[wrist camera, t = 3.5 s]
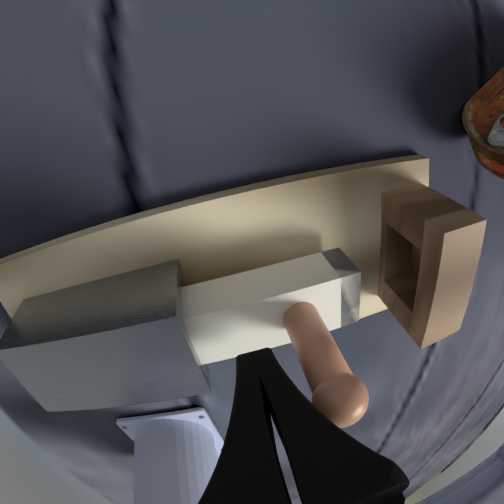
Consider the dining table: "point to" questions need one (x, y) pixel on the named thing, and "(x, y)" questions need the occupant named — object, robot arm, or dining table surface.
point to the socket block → (427, 260)
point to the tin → (487, 124)
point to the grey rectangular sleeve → (106, 343)
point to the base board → (229, 232)
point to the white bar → (285, 322)
